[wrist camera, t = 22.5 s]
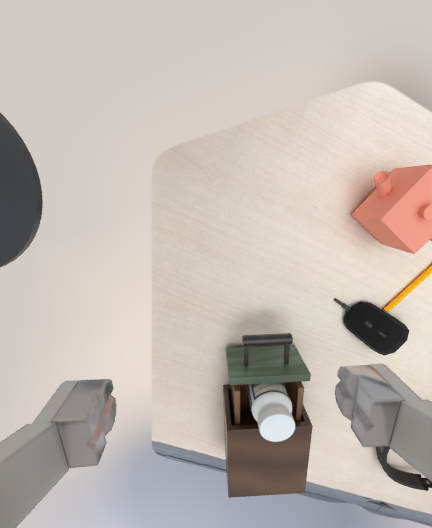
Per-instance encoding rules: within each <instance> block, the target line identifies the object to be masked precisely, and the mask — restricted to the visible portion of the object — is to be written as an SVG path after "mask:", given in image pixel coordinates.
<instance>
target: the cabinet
mask: <svg viewBox="0 0 432 528" xmlns="http://www.w3.org/2000/svg"><path fill="white" fill-rule="evenodd" d="M223 395H224V430H225V453H226V468H227V483H228V496H229V497H245V496H259V495H260V496H261V495H277V494H293V493H305V486H306V477H307V468H308V460H309V451H310V442H311V433H312V424H311V422H310V419H309V417H308V415H307V413H306V410H305V408H304V406H303V403H302V414H301V422H295V431H294V433H293V434H292V435H291V436H290V437H289V438H287V439H286V440H283V441H279V442H272V441H268V440H266V439H265V438H263V437H262V435H261V434H260V431H259V427H258V424H253V425H235V426H233V422H232V413H231V385H223Z"/></svg>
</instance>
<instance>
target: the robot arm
mask: <svg viewBox="0 0 432 528" xmlns="http://www.w3.org/2000/svg"><path fill="white" fill-rule="evenodd" d="M338 377H339V379H340V380H341V381H340V382H339V383H338V384H337V385H336V390H335V396H336V401H337V404H338V407H339V409H340V411H341V412H342V414H343V415H344V416H345V417H347V418H348V419H350V420H351V428H352V430H353V432H354V433H355V435H356V436H357V438H358V440H359V441H360V443H361V444H362V446H363V447H377V446H390V448H391V449H392V450H393V451H394V452H396V453H397V454H398V455H399V456H401V457H402V458H403V459H404V460H405V461H407V462H408V463H409V464H410V465H412V466H413V467H414V468H415V469H417V470H418V471H419V472H420V473H422V474H423V475H424V476H425V477H426V478H428V479H429V480H430V481H431V482H432V402H430V401H428V400H422V399H421V398H420V397H419V396H417V395H416V394H415V393H414V392H413V391H412V390H411V389H410V388H409V387H408V386H407V385H406V384H405V383H404V382H403V381H402V380H401V379H400V378H399V377H398V376H397V375H396V374H394V373H393V372H392V371H391V370H390V369H389V368H388V367H387V366H386V365H384V364H371V365H360V366H344V367H340V368H339V370H338ZM112 390H113V384H112V381H111V380H109V379H104V380H103V379H102V380H80V381H65V382H63V383H62V384H61V385H60V387H59V388H58V389H57V390H56V392H55V393H54V394H53V396H52V397H51V399H50V400H49V401H48V403H47V404H46V405H45V407H44V408H43V409H42V411H41V412H40V414H39V415H38V416H37V418H36V419H35V420H34V422H33V423H32V424H27V425H25V426H23V427H22V428H21V429H19V430H18V431H16V432H15V433H13V434H12V435H10V436H9V437H8V438H6V439H5V440H3V441H2V442H0V528H16V527H17V526H18V525H19V524H20V522H22V521H23V519H24V518H25V517H26V516H27V515H28V514H29V513H30V512H31V511H32V510H33V509H34V508H35V506H36V505H37V504H38V503H39V502H40V501H41V500H42V499H43V498H44V497H45V495H46V494H47V493H48V492H49V491H50V490H51V489H52V488H53V487H54V486H55V485H56V484H57V482H58V481H59V480H60V479H61V478H62V477H63V476H64V475H65V474H66V473H67V472H68V470H69V468H75V467H86V466H95V465H98V463H99V461H100V458H101V455H102V453H103V450H104V448H105V445H106V439H105V435H106V434H107V433H108V432H109V431H111V430H112V427H113V424H114V421H115V416H116V400H115V398H114V397H113V396H112V395H111V393H112Z"/></svg>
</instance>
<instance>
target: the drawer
mask: <svg viewBox="0 0 432 528" xmlns="http://www.w3.org/2000/svg"><path fill="white" fill-rule="evenodd" d="M292 341H293V339H292V335H291V334H290V333H288V334H266V335H245V336H242V342H243V346H244V347H236V348H226V357H227V366H228V375H229V383H230V385H231V413H232V422H233V426H235V425H253V424H258V422H257V421H256V420H255V418H254V417H253V414H252V411H251V406H250V401H249V396H248V391H247V386H246V384H262V383H282V382H284V385H285V387H286V390H287V392H288V395H289V397H290V400H291V403H292V413H291V414H292V416H293V419H294V422H301V414H302V403H303V392H304V387H303V385H302V383H301V381H310V376H311V374H310V372H309V370H308V369H307V367H306V365H305V363H304V361H303V360H302V358H301V356H300V354H299V352H298V351H297V349H296V347H295V345H290V344H291V343H292ZM271 344H285V345H277V346H257V347H249V346H250V345H271Z"/></svg>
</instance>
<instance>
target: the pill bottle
mask: <svg viewBox="0 0 432 528" xmlns="http://www.w3.org/2000/svg"><path fill="white" fill-rule="evenodd" d="M246 386H247V391H248V396H249V401H250V406H251V411H252V414H253V417H254V418H255V420H256V421H257V422H258V427H259V431H260V434H261V435H262V437H263V438H265V439H266V440H268V441H272V442H279V441H283V440H286V439H287V438H289V437H290V436H291V435H292V434H293V433H294V431H295V422H294V419H293V416H292V414H291V413H292V403H291V400H290V397H289V395H288V392H287V390H286V387H285V385H284V382H282V383H262V384H246Z"/></svg>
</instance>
